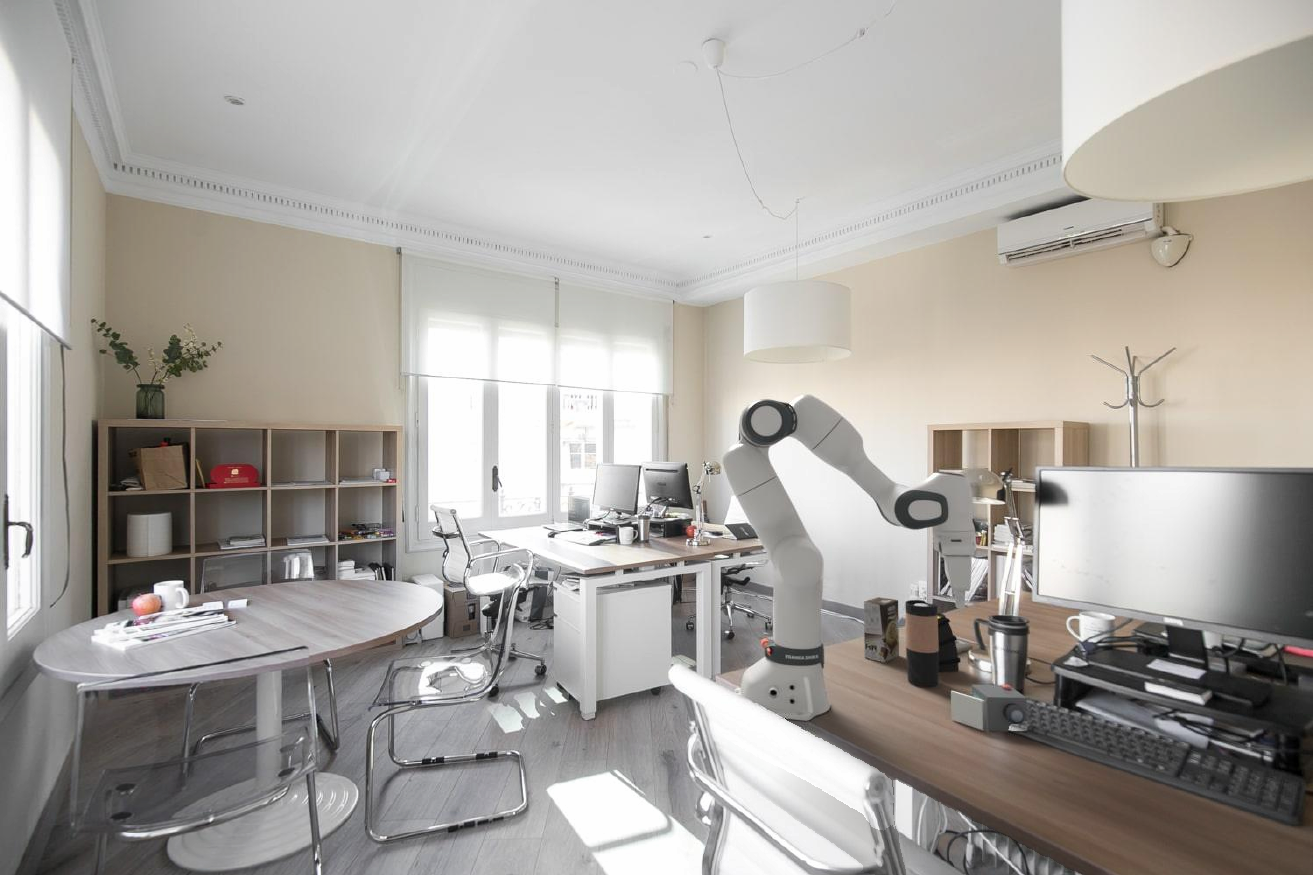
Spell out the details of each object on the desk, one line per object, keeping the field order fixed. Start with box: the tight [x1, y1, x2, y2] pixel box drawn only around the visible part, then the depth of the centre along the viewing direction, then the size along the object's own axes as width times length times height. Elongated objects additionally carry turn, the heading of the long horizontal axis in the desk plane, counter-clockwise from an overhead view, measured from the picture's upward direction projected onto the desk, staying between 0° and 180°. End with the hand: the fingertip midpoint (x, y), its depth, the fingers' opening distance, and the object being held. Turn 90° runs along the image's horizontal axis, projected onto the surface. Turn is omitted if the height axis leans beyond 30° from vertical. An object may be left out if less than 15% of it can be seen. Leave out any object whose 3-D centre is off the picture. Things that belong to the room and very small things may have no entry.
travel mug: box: [905, 599, 940, 689], centre depth 154 cm, size 8×8×20 cm
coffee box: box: [863, 596, 900, 663], centre depth 174 cm, size 9×6×16 cm
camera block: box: [971, 684, 1028, 733], centre depth 128 cm, size 8×9×8 cm
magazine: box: [937, 612, 961, 673], centre depth 162 cm, size 4×13×15 cm, turn 95°
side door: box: [950, 690, 988, 732], centre depth 128 cm, size 1×7×6 cm, turn 37°
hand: (958, 603), depth 138 cm, fingers open, 8 cm apart
